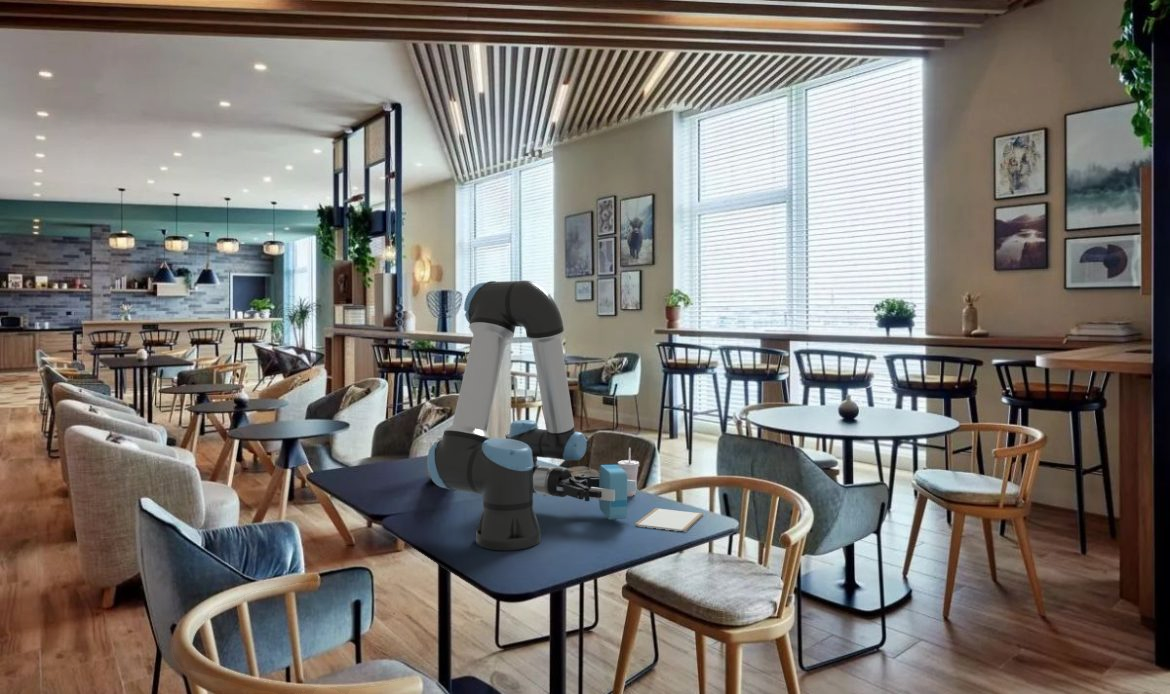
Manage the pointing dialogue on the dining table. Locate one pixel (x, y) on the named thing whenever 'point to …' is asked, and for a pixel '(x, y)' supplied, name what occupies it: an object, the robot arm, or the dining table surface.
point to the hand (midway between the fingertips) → (625, 490)
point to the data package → (616, 481)
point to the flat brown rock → (583, 471)
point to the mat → (669, 519)
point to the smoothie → (630, 470)
